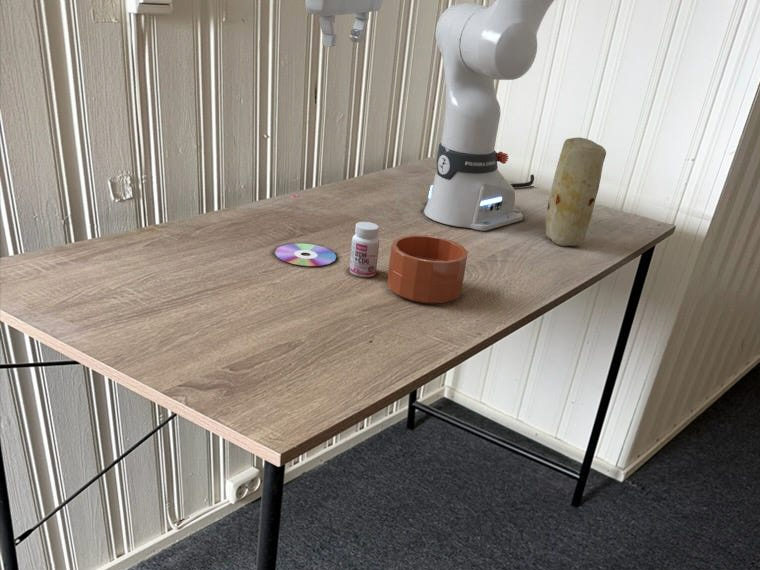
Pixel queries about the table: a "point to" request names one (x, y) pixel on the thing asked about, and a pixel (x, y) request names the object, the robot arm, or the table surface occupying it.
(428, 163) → the table surface
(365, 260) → the pill bottle
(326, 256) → the cd
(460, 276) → the pot
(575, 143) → the food model
